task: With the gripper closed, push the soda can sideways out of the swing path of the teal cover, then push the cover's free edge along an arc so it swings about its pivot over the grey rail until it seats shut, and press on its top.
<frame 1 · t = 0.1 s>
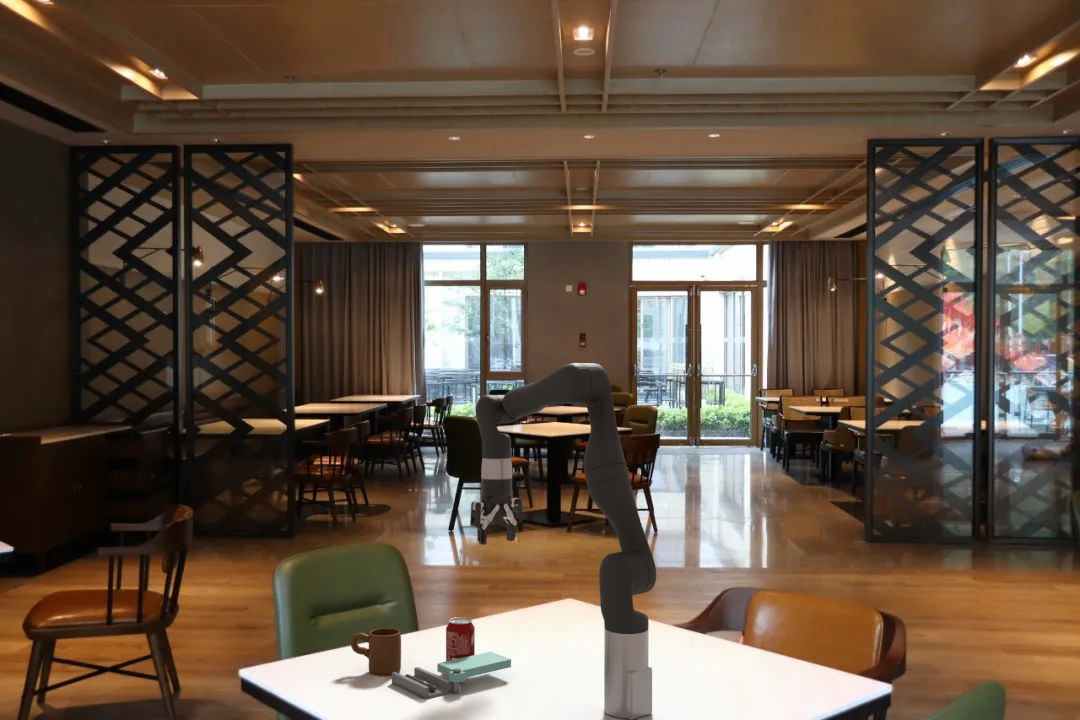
hand: (496, 542, 237), 29 cm above the table, fingers open, 8 cm apart
grey rail: (421, 687, 217), on the table
cover: (473, 665, 221), point 4 cm above the table, hinge at 90.0°
mug: (375, 672, 229), on the table
soda can: (460, 671, 230), on the table
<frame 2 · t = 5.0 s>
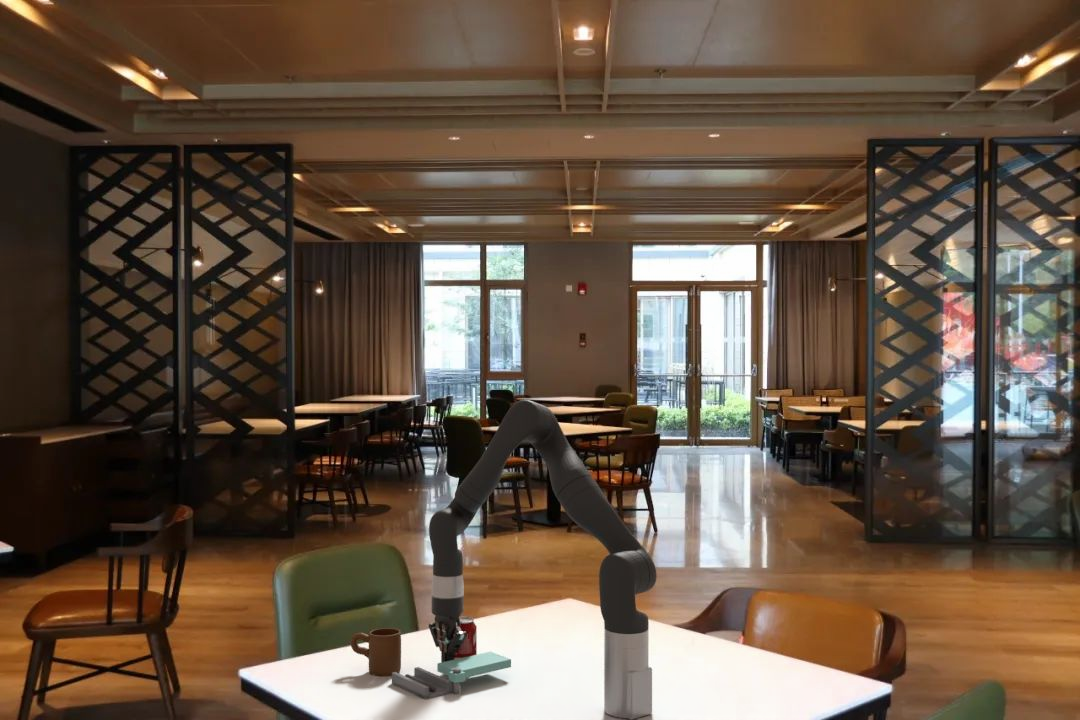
hand: (446, 667, 227), 2 cm above the table, fingers closed
soda can: (462, 670, 230), on the table, touching gripper
everything else where it was.
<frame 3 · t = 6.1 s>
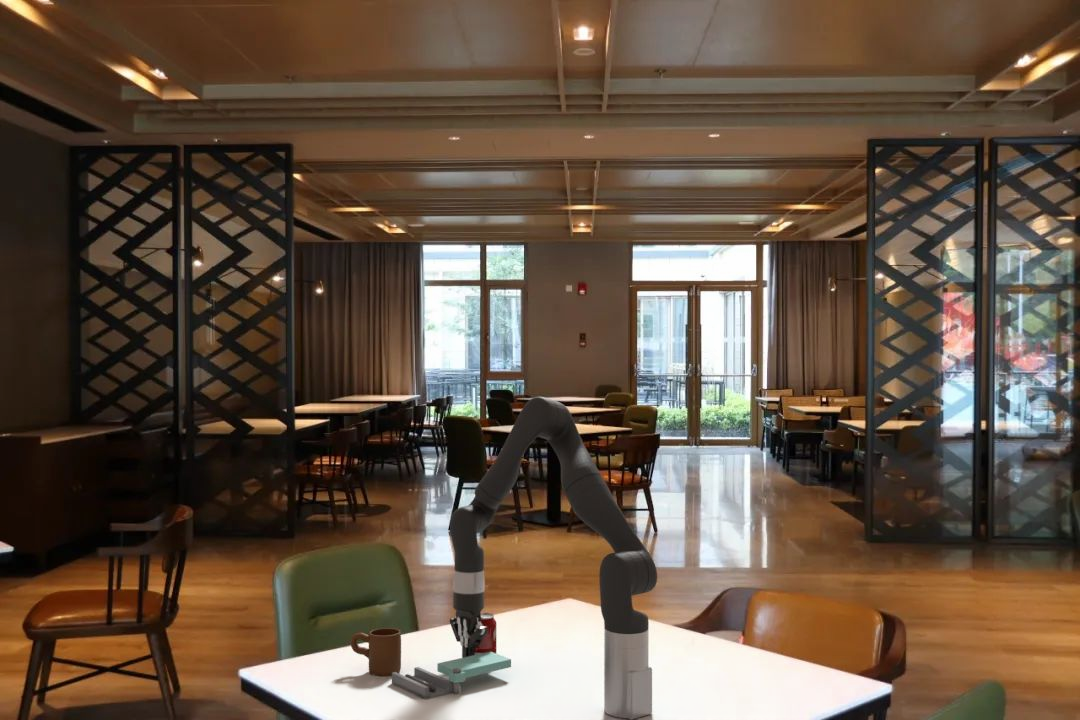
hand: (467, 661, 231), 2 cm above the table, fingers closed
soda can: (482, 665, 234), on the table, touching gripper
everything else where it was.
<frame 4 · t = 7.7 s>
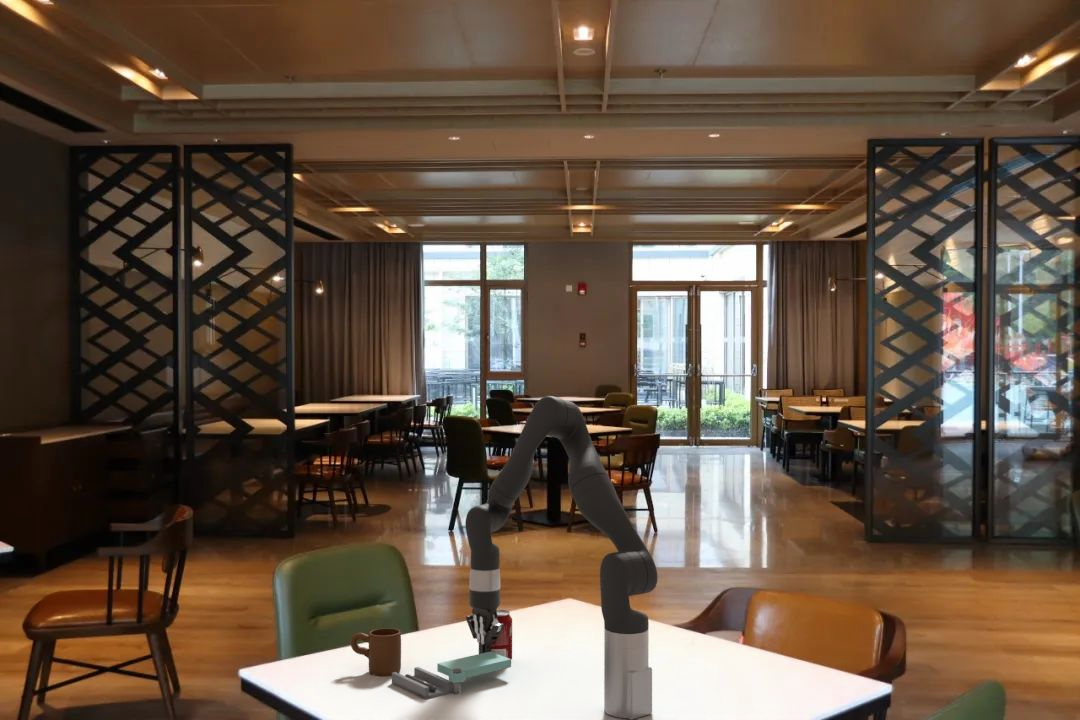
hand: (484, 658, 234), 2 cm above the table, fingers closed
soda can: (498, 662, 237), on the table, touching gripper
everything else where it was.
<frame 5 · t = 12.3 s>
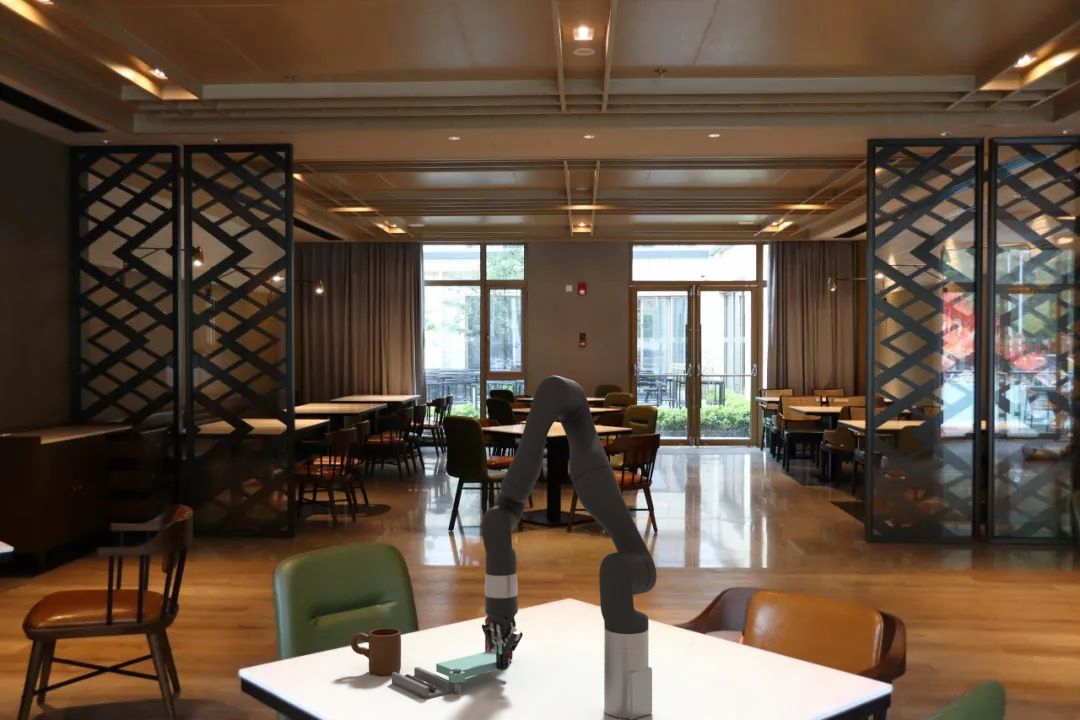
hand: (502, 669, 220), 3 cm above the table, fingers closed
cover: (472, 665, 221), point 4 cm above the table, hinge at 87.9°, touching gripper
soda can: (498, 662, 237), on the table
everything else where it was.
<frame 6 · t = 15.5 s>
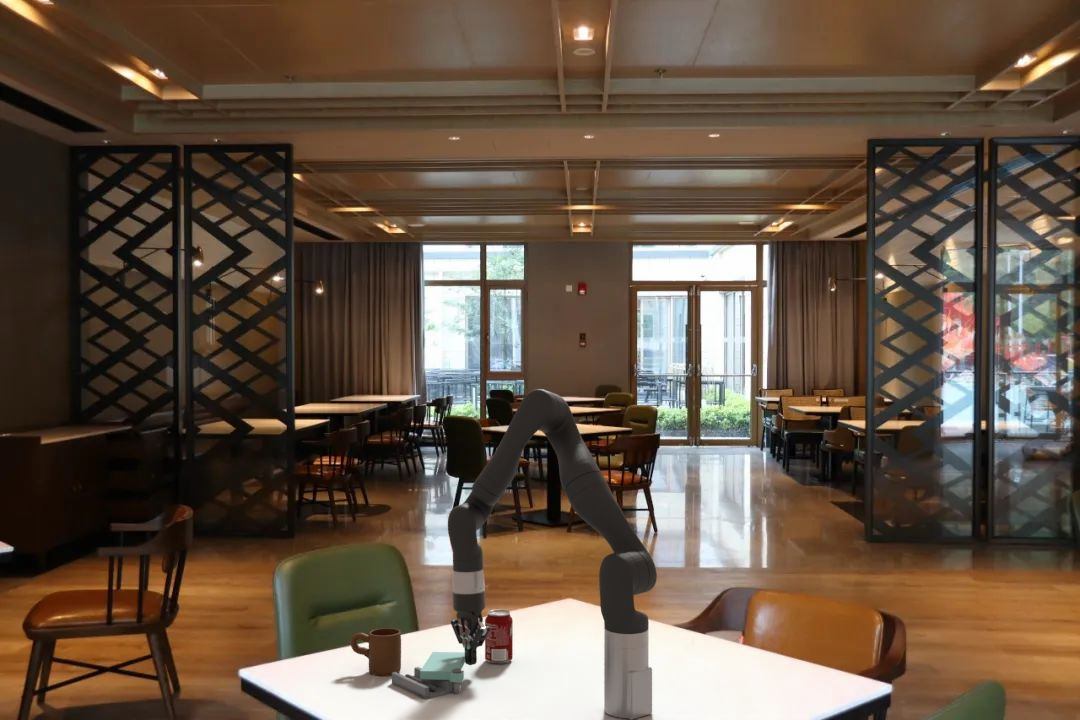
hand: (470, 663, 225), 3 cm above the table, fingers closed
cover: (446, 665, 221), point 4 cm above the table, hinge at 43.5°, touching gripper
everything else where it was.
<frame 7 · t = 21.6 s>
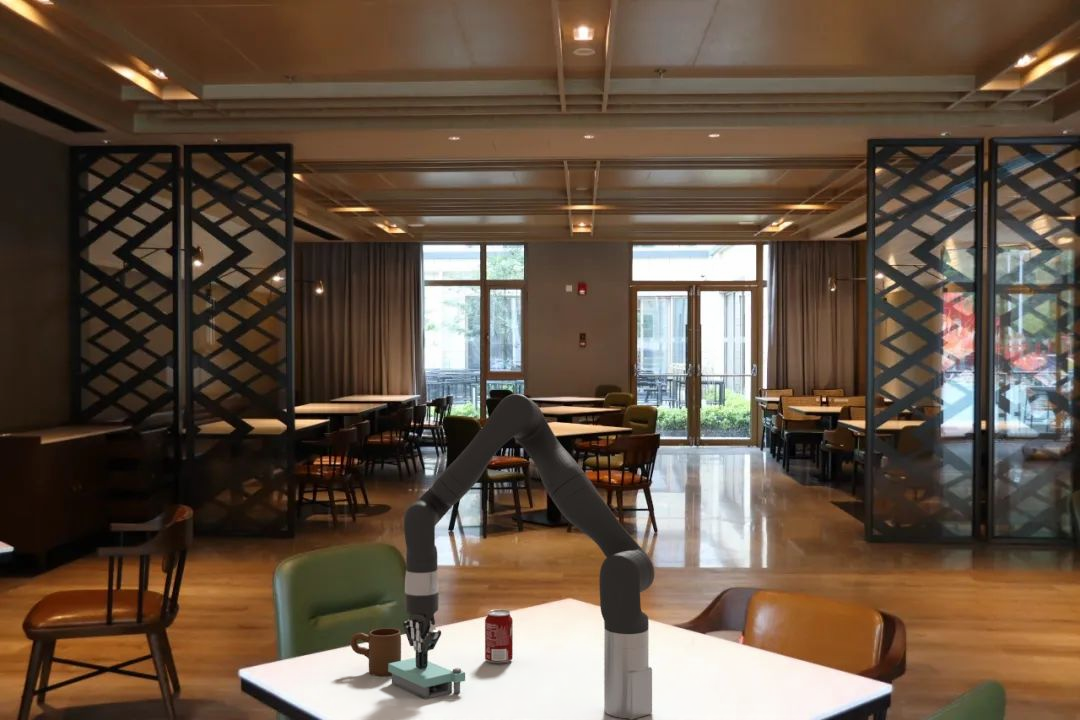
hand: (421, 667, 217), 5 cm above the table, fingers closed
cover: (426, 670, 217), point 4 cm above the table, hinge at -0.6°, touching gripper
everything else where it was.
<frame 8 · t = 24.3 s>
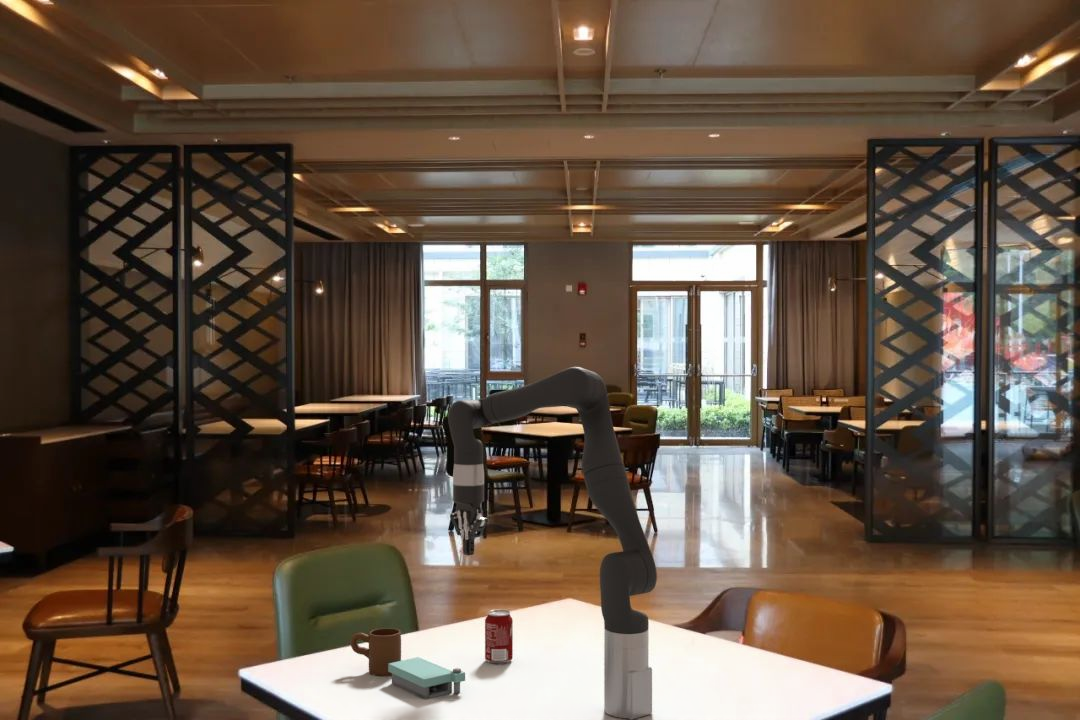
hand: (468, 554, 233), 27 cm above the table, fingers closed
cover: (426, 670, 217), point 4 cm above the table, hinge at -0.7°
everything else where it was.
at the end: cover at -1° (first picture: +90°); soda can inside the target area (0.4 cm from its centre), on the table; soda can tilted 0° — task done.
